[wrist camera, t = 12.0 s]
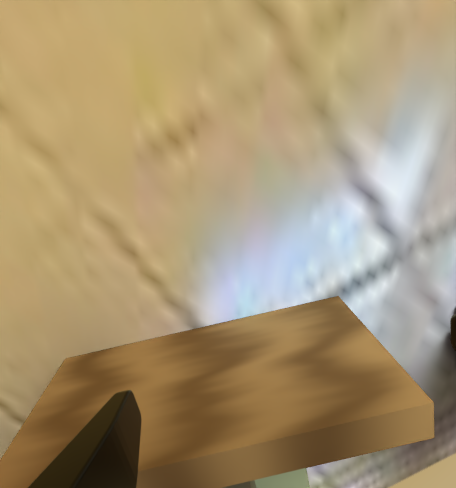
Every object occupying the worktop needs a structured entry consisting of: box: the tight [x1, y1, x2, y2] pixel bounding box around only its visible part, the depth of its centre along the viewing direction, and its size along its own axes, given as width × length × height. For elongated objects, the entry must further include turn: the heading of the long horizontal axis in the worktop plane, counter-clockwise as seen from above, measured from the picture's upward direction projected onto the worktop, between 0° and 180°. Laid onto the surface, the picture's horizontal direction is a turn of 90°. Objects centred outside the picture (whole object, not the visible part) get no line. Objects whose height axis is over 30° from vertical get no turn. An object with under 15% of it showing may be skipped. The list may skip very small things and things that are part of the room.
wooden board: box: [0, 296, 434, 488], centre depth 19 cm, size 20×7×10 cm, turn 102°
